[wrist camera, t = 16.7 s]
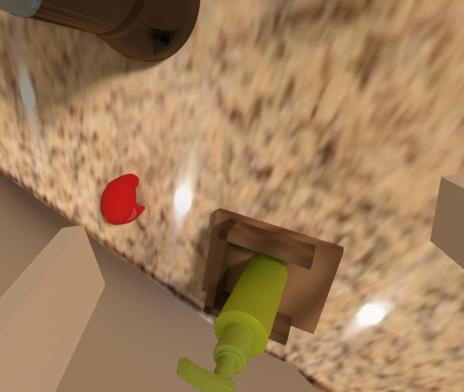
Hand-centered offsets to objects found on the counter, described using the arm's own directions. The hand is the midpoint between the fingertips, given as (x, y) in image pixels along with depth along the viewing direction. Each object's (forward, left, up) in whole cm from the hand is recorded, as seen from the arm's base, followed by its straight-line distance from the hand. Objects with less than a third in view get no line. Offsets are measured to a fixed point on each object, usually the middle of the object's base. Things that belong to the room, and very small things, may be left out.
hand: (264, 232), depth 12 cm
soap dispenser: (-2, -20, -28) cm, 35 cm away
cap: (-26, -16, -30) cm, 43 cm away
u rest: (-2, -20, -30) cm, 36 cm away
